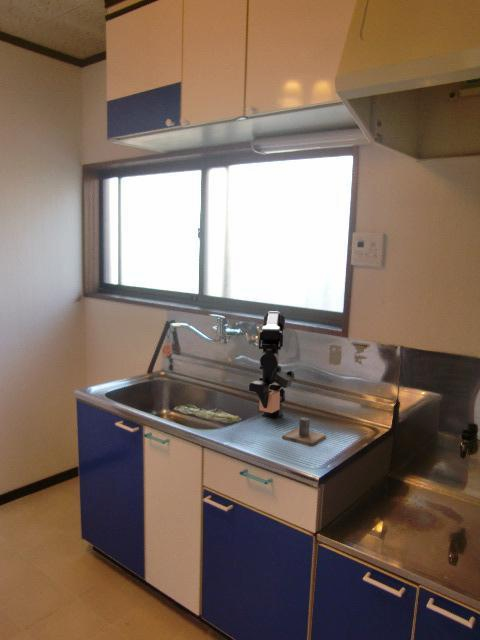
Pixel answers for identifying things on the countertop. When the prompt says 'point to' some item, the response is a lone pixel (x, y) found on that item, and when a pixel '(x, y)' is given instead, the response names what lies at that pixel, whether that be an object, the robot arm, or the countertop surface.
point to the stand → (304, 434)
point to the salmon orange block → (271, 402)
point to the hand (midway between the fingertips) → (269, 406)
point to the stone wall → (208, 413)
